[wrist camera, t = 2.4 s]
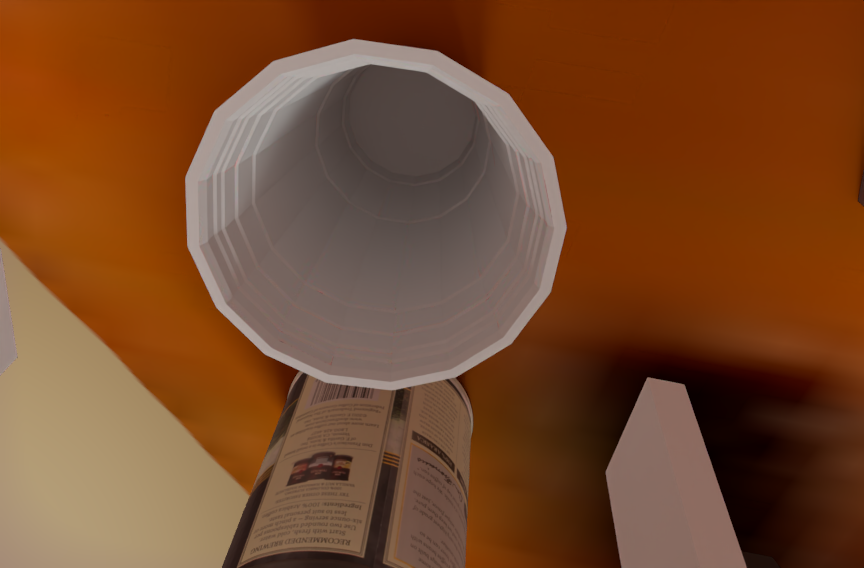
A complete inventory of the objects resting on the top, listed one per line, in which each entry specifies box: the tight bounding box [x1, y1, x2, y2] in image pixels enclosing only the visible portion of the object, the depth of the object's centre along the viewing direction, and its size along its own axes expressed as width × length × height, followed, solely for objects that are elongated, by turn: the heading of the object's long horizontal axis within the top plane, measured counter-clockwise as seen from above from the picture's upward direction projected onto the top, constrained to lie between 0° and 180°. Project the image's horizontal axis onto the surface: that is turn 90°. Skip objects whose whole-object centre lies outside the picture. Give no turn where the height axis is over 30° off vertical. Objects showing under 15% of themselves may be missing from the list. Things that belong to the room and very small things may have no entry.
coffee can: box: [222, 371, 473, 568], centre depth 33 cm, size 10×10×14 cm
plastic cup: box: [185, 39, 567, 390], centre depth 25 cm, size 11×11×12 cm
